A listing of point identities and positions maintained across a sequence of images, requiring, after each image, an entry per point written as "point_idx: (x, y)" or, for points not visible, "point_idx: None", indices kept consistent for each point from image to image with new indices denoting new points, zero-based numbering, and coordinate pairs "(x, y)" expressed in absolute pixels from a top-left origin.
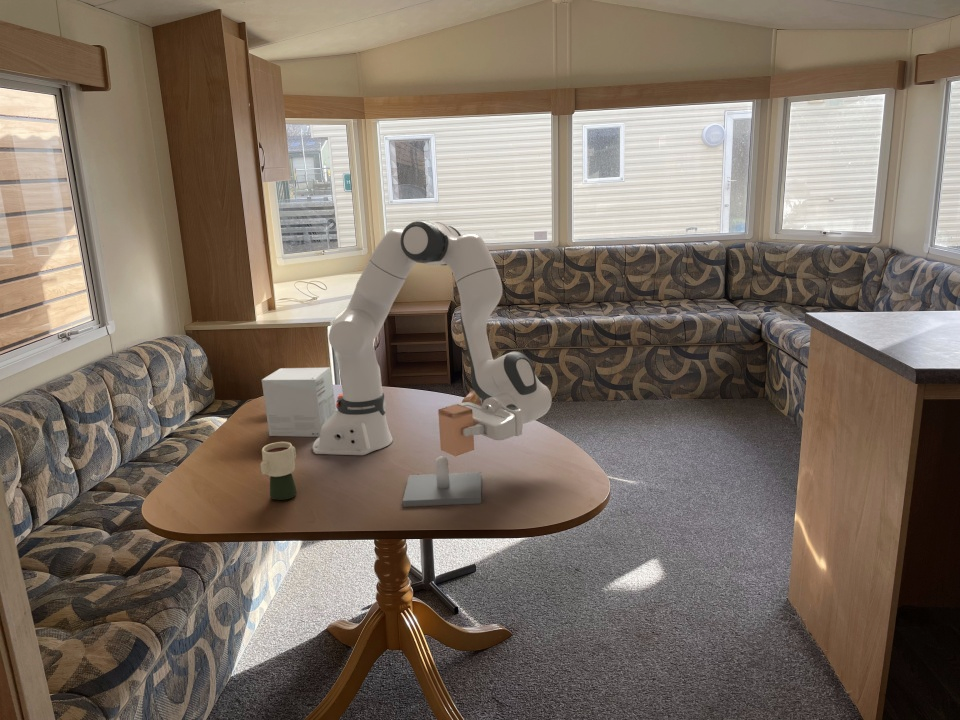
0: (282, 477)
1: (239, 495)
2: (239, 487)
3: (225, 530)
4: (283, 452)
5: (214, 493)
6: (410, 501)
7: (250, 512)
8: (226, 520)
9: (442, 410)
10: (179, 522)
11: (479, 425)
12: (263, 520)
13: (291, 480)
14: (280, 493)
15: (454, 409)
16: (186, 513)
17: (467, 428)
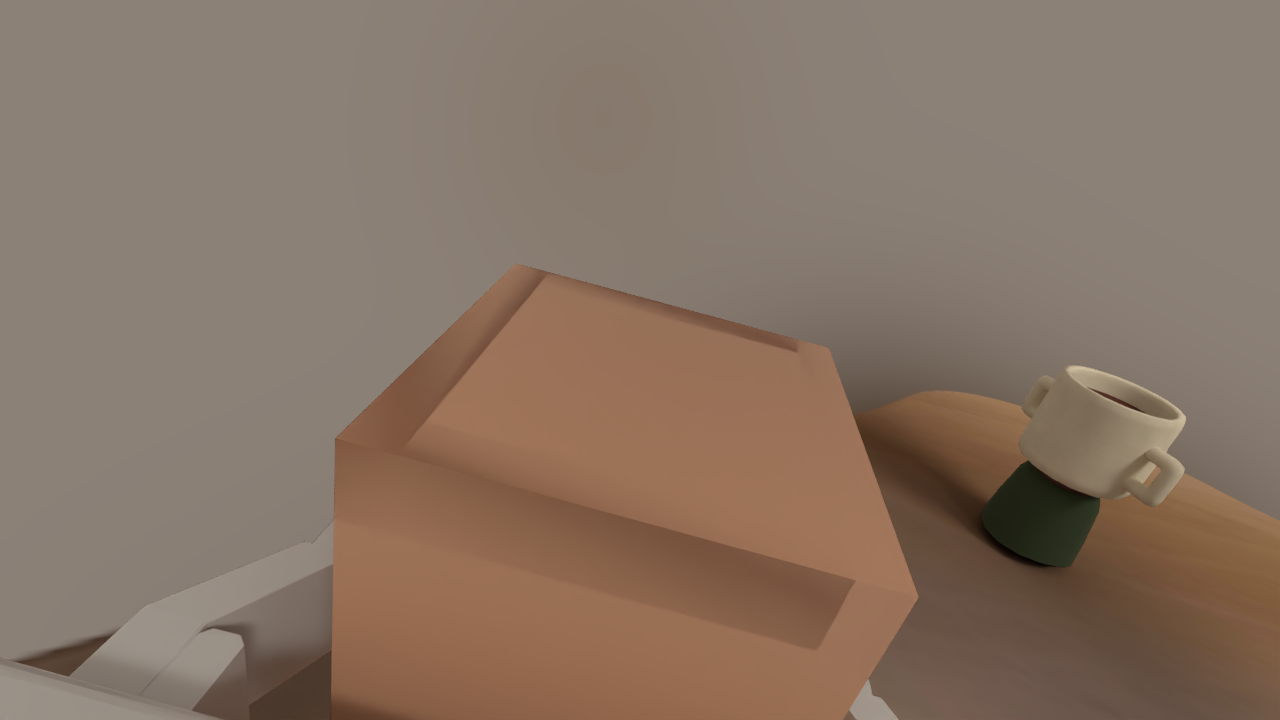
0: (1031, 465)
1: None
2: (1154, 540)
3: (885, 408)
4: (1066, 381)
5: (1127, 499)
6: None
7: (954, 464)
8: (937, 431)
9: (765, 339)
10: (978, 408)
11: (146, 638)
12: (887, 448)
13: (1032, 499)
14: (995, 494)
15: (666, 378)
16: (1021, 430)
17: None
